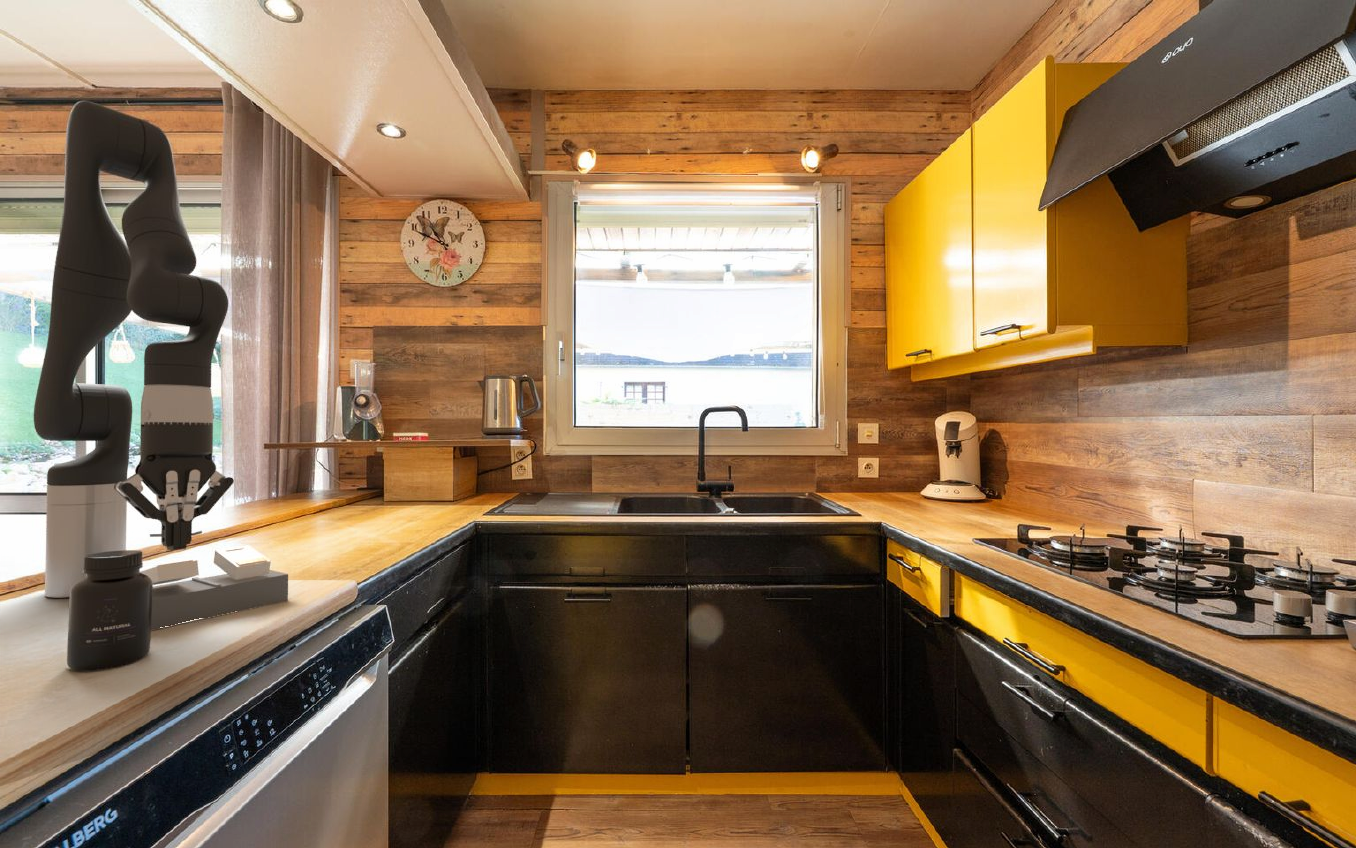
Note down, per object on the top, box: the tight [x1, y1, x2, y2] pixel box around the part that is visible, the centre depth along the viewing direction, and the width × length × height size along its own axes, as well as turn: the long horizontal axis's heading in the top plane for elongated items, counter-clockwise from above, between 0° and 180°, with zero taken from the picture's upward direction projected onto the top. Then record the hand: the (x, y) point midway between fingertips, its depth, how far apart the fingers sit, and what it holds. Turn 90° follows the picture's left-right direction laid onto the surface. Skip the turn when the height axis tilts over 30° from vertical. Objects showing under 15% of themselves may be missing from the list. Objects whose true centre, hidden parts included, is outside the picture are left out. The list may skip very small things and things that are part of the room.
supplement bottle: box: [66, 549, 154, 672], centre depth 68 cm, size 7×7×12 cm
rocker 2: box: [213, 544, 271, 580], centre depth 90 cm, size 7×4×2 cm, turn 59°
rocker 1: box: [140, 559, 200, 586], centre depth 82 cm, size 7×4×2 cm, turn 59°
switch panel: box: [151, 569, 289, 631], centre depth 86 cm, size 8×18×4 cm, turn 149°
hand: (176, 549), depth 81 cm, fingers closed
